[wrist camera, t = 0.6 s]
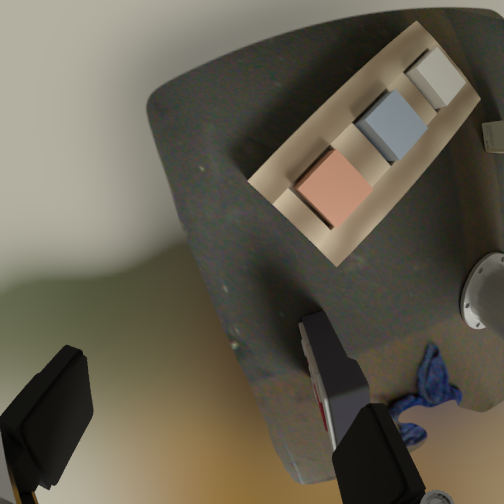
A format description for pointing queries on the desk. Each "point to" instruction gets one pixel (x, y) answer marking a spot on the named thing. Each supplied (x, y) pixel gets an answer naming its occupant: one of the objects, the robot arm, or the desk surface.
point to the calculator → (333, 376)
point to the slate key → (391, 126)
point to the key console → (362, 145)
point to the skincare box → (493, 136)
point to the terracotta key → (333, 187)
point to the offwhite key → (436, 78)
